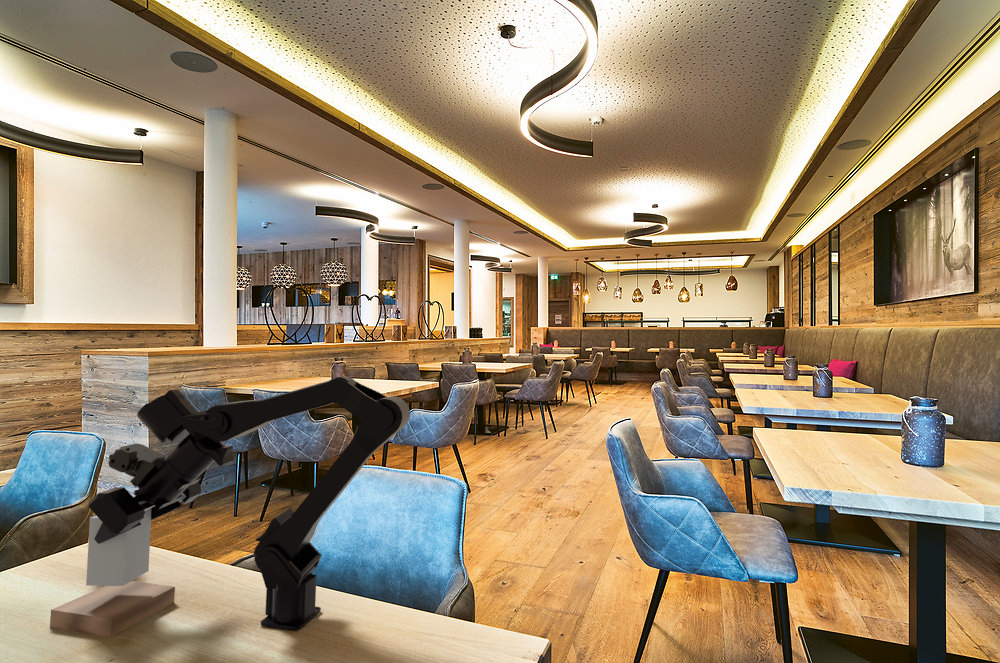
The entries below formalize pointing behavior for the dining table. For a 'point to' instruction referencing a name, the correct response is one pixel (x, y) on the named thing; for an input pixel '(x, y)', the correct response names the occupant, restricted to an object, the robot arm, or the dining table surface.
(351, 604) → the dining table surface
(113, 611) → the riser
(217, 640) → the dining table surface
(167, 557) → the dining table surface
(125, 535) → the grey rectangular block
